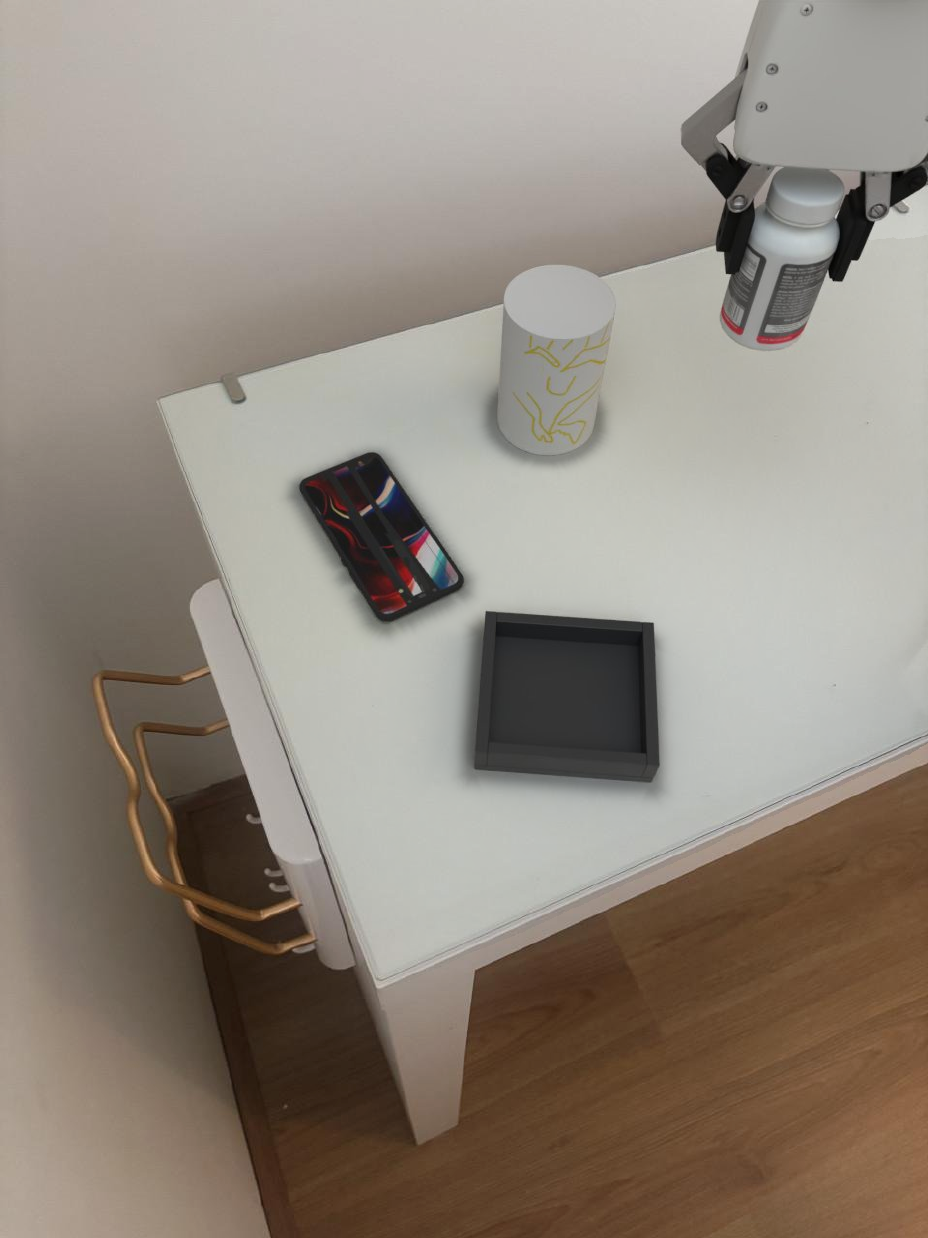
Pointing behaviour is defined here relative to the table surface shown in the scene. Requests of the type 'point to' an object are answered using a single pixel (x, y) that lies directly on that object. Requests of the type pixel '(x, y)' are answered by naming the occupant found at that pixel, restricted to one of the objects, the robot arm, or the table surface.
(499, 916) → the table surface
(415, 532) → the smartphone
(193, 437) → the table surface
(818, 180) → the pill bottle
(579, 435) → the cup
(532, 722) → the tray
